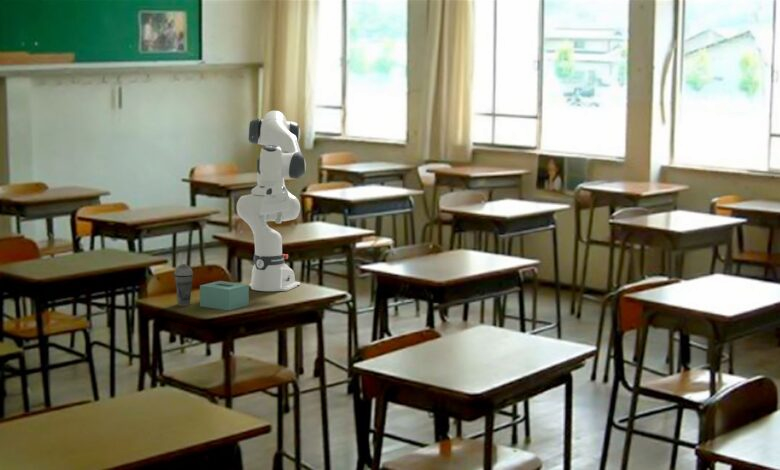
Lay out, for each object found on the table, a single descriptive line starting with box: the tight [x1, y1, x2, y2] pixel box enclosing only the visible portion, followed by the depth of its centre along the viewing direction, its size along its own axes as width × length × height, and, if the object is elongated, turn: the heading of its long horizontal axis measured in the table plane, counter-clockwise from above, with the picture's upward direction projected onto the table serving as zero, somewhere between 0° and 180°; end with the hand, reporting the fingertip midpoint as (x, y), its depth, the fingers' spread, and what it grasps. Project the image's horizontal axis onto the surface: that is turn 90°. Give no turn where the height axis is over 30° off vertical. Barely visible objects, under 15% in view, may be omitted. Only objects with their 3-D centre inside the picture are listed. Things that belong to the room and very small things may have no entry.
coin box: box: [199, 280, 250, 311], centre depth 460 cm, size 12×14×8 cm
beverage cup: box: [173, 252, 194, 307], centre depth 460 cm, size 7×7×20 cm
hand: (271, 224), depth 459 cm, fingers open, 8 cm apart
